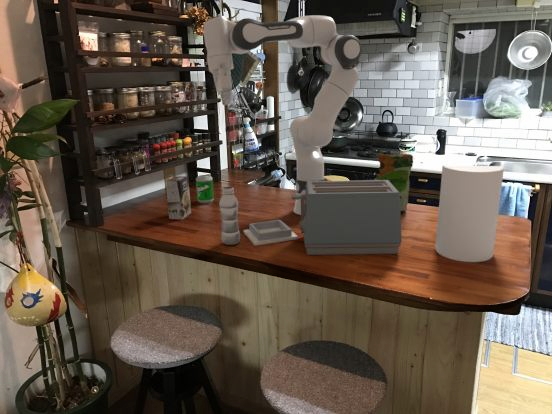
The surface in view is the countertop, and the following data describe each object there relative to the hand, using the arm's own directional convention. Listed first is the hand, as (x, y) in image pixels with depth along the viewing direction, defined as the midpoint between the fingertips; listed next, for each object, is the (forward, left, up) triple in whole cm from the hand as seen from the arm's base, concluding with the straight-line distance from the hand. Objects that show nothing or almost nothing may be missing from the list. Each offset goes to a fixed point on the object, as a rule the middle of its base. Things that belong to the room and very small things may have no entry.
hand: (226, 104), depth 165 cm
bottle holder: (-9, +19, -46) cm, 50 cm away
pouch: (-64, +13, -46) cm, 80 cm away
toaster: (-29, +36, -46) cm, 66 cm away
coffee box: (+18, -18, -46) cm, 53 cm away
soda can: (+4, -35, -46) cm, 58 cm away
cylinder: (-62, +57, -46) cm, 96 cm away
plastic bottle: (+6, +21, -46) cm, 51 cm away
